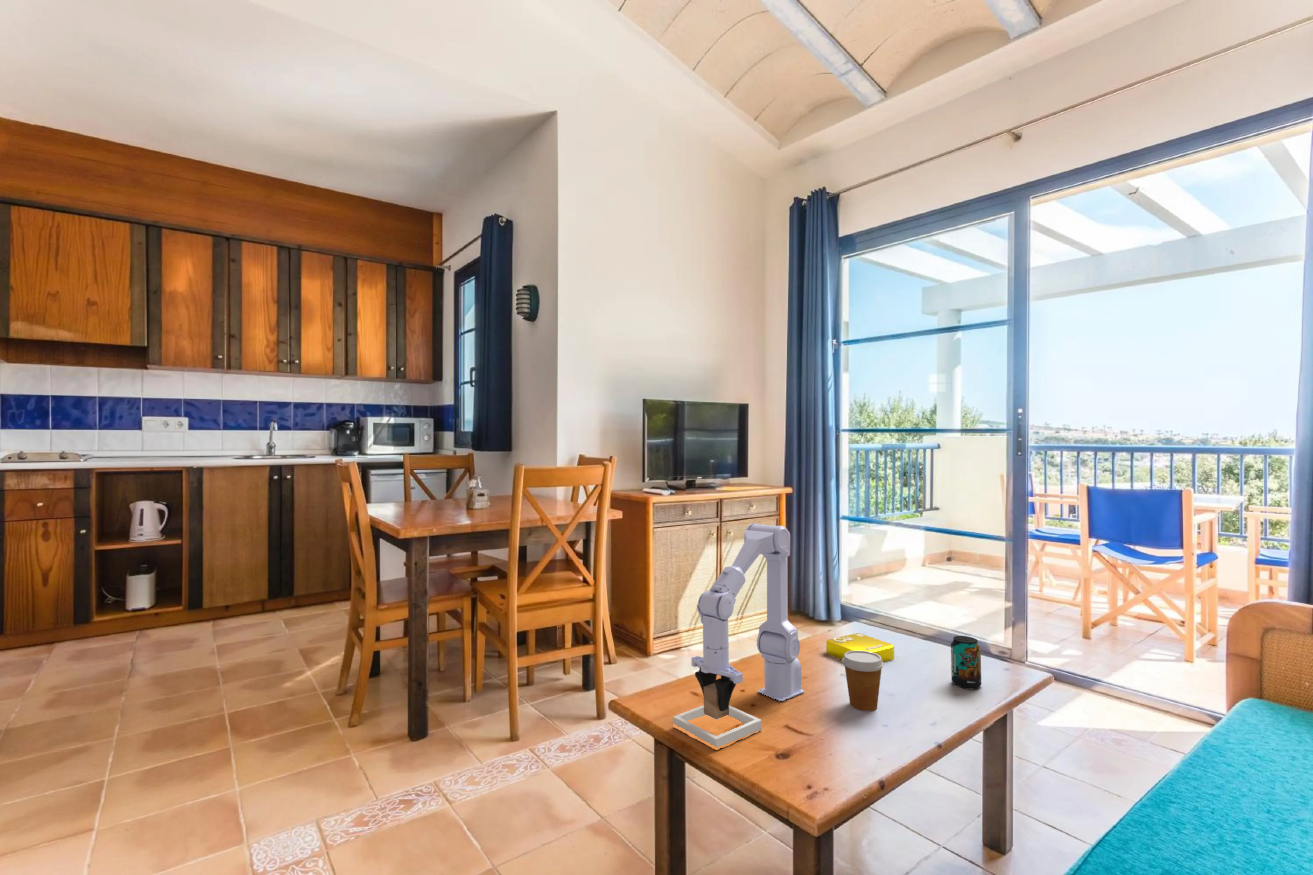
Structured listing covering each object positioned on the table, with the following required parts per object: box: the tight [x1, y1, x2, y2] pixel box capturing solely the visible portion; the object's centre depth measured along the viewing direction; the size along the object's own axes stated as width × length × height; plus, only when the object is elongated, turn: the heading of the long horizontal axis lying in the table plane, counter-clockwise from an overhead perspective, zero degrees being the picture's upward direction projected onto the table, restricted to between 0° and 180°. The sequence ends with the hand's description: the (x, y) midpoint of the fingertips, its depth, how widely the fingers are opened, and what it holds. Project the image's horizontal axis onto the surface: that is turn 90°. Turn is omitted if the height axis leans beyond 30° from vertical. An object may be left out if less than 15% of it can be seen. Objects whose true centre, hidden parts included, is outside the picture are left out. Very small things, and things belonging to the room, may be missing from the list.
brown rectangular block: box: [703, 683, 729, 720], centre depth 136 cm, size 4×4×6 cm
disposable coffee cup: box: [841, 650, 885, 712], centre depth 148 cm, size 10×10×12 cm
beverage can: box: [950, 635, 982, 690], centre depth 160 cm, size 7×7×12 cm
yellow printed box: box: [825, 632, 895, 663], centre depth 183 cm, size 15×15×5 cm
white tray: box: [672, 704, 763, 747], centre depth 136 cm, size 14×14×2 cm
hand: (716, 706), depth 136 cm, fingers closed on brown rectangular block, 4 cm apart
